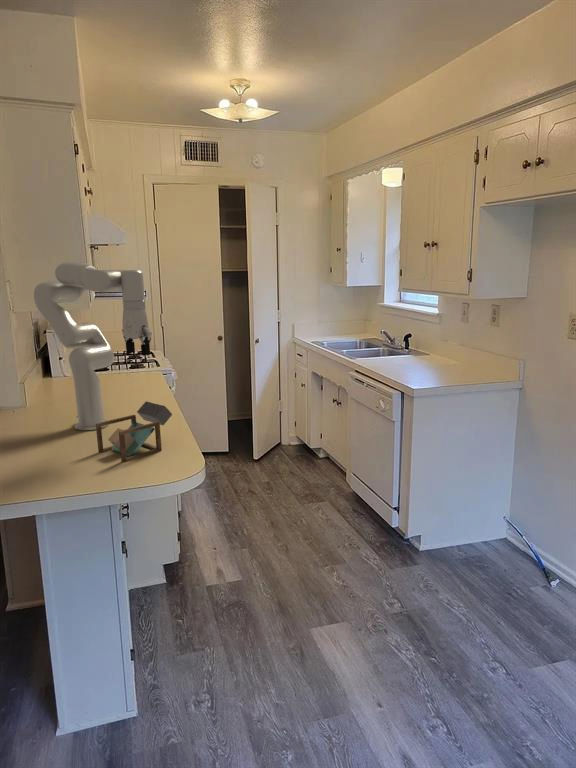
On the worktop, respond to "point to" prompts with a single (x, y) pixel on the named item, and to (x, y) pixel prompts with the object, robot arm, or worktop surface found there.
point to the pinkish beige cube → (115, 441)
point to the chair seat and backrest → (148, 413)
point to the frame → (122, 437)
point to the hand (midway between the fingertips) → (138, 354)
